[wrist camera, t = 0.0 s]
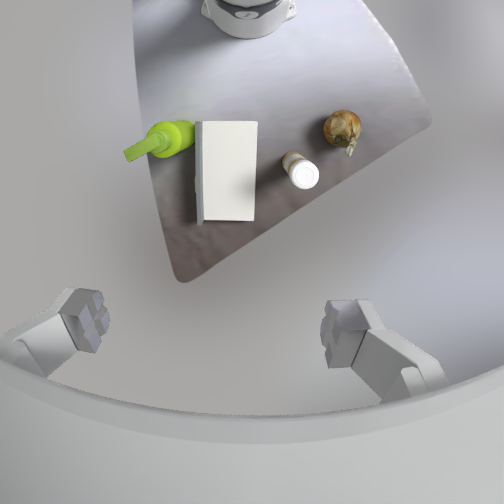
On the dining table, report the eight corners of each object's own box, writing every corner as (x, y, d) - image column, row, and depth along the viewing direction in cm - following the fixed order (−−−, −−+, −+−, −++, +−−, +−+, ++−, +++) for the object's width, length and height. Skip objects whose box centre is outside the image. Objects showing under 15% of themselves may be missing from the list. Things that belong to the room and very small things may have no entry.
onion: (363, 130, 49) (379, 133, 42) (337, 154, 52) (350, 160, 45) (339, 103, 47) (353, 101, 40) (312, 127, 49) (322, 129, 42)
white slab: (199, 121, 49) (193, 121, 43) (257, 121, 49) (258, 121, 44) (201, 214, 58) (196, 225, 53) (253, 215, 58) (253, 226, 53)
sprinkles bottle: (290, 177, 54) (301, 195, 42) (277, 159, 53) (285, 172, 41) (308, 164, 53) (324, 179, 41) (295, 146, 51) (309, 156, 39)
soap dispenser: (160, 129, 49) (116, 139, 32) (190, 115, 48) (158, 115, 30) (171, 154, 52) (132, 175, 34) (201, 141, 51) (175, 155, 33)
